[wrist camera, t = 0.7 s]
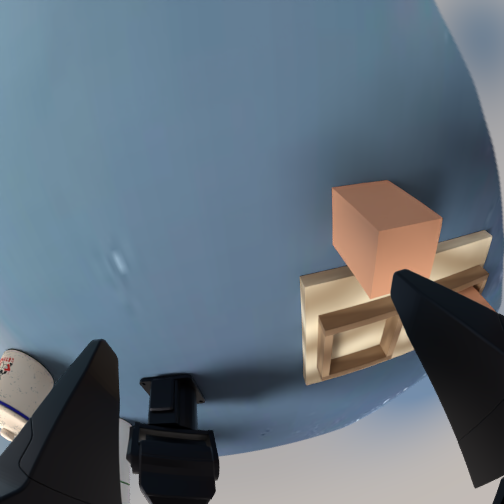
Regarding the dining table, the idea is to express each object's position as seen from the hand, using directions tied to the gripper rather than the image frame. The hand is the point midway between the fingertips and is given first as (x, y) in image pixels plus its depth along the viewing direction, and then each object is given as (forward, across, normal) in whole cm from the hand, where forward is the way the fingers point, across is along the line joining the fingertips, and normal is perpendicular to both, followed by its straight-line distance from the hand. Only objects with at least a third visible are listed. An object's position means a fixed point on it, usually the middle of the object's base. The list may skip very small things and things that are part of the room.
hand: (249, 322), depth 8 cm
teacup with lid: (+14, +34, +17) cm, 40 cm away
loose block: (+13, -10, +5) cm, 17 cm away
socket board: (+13, -16, +18) cm, 27 cm away
